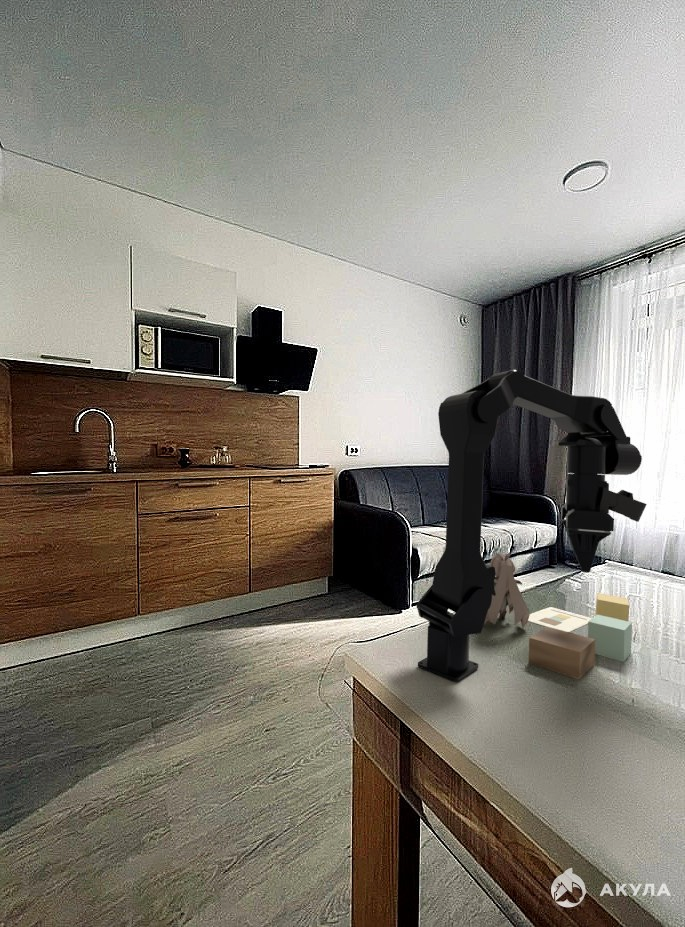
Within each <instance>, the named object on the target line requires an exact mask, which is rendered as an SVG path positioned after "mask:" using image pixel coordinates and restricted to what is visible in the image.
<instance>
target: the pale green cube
mask: <svg viewBox="0 0 685 927" xmlns="http://www.w3.org/2000/svg"><path fill="white" fill-rule="evenodd" d="M591 618H592V619H591V620H590V621H588V624H587V625H588V626H587V637H588V638H592V639H595V655H598V656H600V657H604V658H608V659H612V660H615V661H620V662H622V663H624V662H625V661H626V660H627V658H628V657H629V656H630V654H632V634H633V633H632V632H633V630H632V629H633V628H632V627H633V622H632V621H629V620H628V621H624V620H619V619H615V618H611V617H606V616H602V615H596V616H595V615H594V616H593V617H591Z"/></svg>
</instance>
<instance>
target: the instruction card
mask: <svg viewBox="0 0 685 927" xmlns="http://www.w3.org/2000/svg"><path fill="white" fill-rule="evenodd" d="M529 615H530V616H529V619H528V621H527V623H532V624H536V625H539V626H542V627H543V628H545V627H551V628H555V629H558V630H562V631H566V632H570V633H572V632H573V631H575V630H577V629H580V628H582V627H584V626H587V625H588V621H590V620H591V619H592V618H593V617H588V616H585V615H582V614H577V613H574V612H571V611H566V610H563V609H559V608H556V607H552V606H550V607H546V608H543V609H541V610H537V611H535V612H533V613H529Z"/></svg>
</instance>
